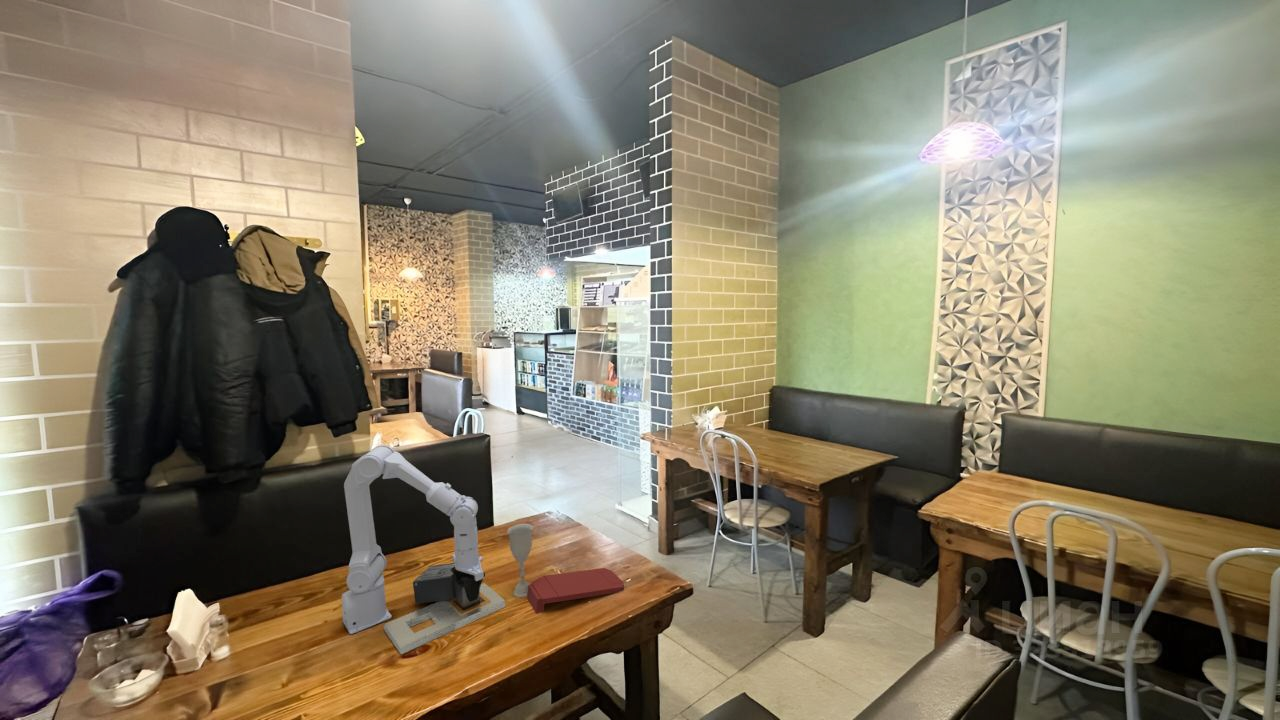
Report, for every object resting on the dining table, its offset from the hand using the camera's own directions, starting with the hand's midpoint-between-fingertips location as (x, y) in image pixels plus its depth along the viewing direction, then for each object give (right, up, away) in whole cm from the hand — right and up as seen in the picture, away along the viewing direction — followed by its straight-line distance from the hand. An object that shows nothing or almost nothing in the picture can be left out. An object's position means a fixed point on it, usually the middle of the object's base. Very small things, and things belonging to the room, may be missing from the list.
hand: (469, 596), depth 128 cm
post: (0, -3, 0) cm, 3 cm away
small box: (-10, +1, +11) cm, 15 cm away
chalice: (+12, -3, +8) cm, 15 cm away
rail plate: (-4, -4, -4) cm, 7 cm away
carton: (+27, -3, +7) cm, 28 cm away
